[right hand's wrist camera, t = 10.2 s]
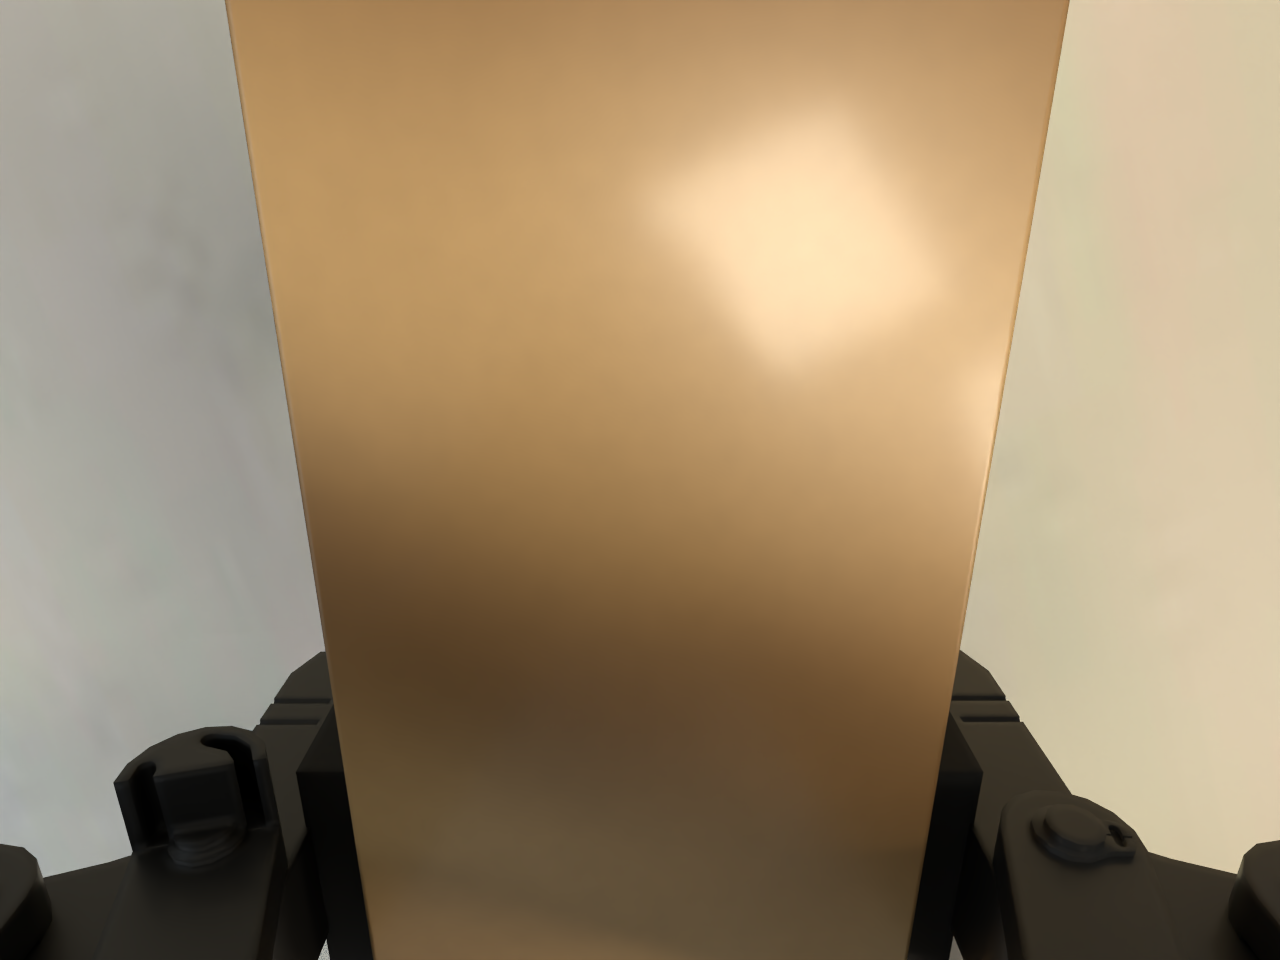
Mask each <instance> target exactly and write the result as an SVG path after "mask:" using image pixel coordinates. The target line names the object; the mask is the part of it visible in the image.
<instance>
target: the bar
mask: <svg viewBox="0 0 1280 960" xmlns="http://www.w3.org/2000/svg"><path fill="white" fill-rule="evenodd" d="M1069 1H1070V0H225V4H226V11H227V17H228V24H229V30H230V37H231V43H232V49H233V56H234V62H235V69H236V75H237V82H238V88H239V95H240V101H241V108H242V114H243V121H244V127H245V134H246V140H247V146H248V153H249V159H250V166H251V172H252V179H253V185H254V192H255V198H256V205H257V211H258V218H259V224H260V230H261V237H262V243H263V250H264V256H265V263H266V269H267V276H268V282H269V289H270V295H271V302H272V308H273V314H274V321H275V327H276V334H277V340H278V347H279V353H280V360H281V366H282V373H283V379H284V386H285V392H286V399H287V405H288V411H289V418H290V424H291V431H292V437H293V444H294V450H295V457H296V463H297V470H298V476H299V483H300V489H301V495H302V502H303V508H304V515H305V521H306V528H307V534H308V541H309V547H310V554H311V560H312V567H313V573H314V580H315V586H316V592H317V599H318V605H319V612H320V618H321V625H322V631H323V638H324V644H325V651H326V657H327V664H328V670H329V676H330V683H331V689H332V696H333V702H334V709H335V715H336V722H337V728H338V735H339V741H340V748H341V754H342V760H343V767H344V773H345V780H346V786H347V793H348V799H349V806H350V812H351V819H352V825H353V832H354V838H355V845H356V851H357V857H358V864H359V870H360V877H361V883H362V890H363V896H364V903H365V909H366V916H367V922H368V929H369V935H370V941H371V948H372V954H373V960H907V956H908V951H909V945H910V939H911V933H912V927H913V921H914V915H915V909H916V903H917V897H918V892H919V886H920V880H921V874H922V868H923V862H924V856H925V850H926V844H927V838H928V833H929V827H930V821H931V815H932V809H933V803H934V797H935V791H936V785H937V779H938V774H939V768H940V762H941V756H942V750H943V744H944V738H945V732H946V726H947V720H948V715H949V709H950V703H951V697H952V691H953V685H954V679H955V673H956V667H957V661H958V656H959V650H960V644H961V638H962V632H963V626H964V620H965V614H966V608H967V602H968V597H969V591H970V585H971V579H972V573H973V567H974V561H975V555H976V549H977V543H978V538H979V532H980V526H981V520H982V514H983V508H984V502H985V496H986V490H987V484H988V479H989V473H990V467H991V461H992V455H993V449H994V443H995V437H996V431H997V425H998V420H999V414H1000V408H1001V402H1002V396H1003V390H1004V384H1005V378H1006V372H1007V366H1008V361H1009V355H1010V349H1011V343H1012V337H1013V331H1014V325H1015V319H1016V313H1017V307H1018V302H1019V296H1020V290H1021V284H1022V278H1023V272H1024V266H1025V260H1026V254H1027V248H1028V243H1029V237H1030V231H1031V225H1032V219H1033V213H1034V207H1035V201H1036V195H1037V189H1038V184H1039V178H1040V172H1041V166H1042V160H1043V154H1044V148H1045V142H1046V136H1047V130H1048V125H1049V119H1050V113H1051V107H1052V101H1053V95H1054V89H1055V83H1056V77H1057V71H1058V66H1059V60H1060V54H1061V48H1062V42H1063V36H1064V30H1065V24H1066V18H1067V12H1068V7H1069Z"/></svg>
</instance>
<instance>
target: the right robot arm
mask: <svg viewBox="0 0 1280 960" xmlns="http://www.w3.org/2000/svg"><path fill="white" fill-rule="evenodd" d="M113 783H114V787H115V790H116V794H117V797H118V801H119V805H120V808H121V812H122V815H123V819H124V822H125V826H126V829H127V833H128V836H129V840H130V843H131V847H132V850H133V852H132V855H131V856H128V857H124V858H121V859H118V860H115V861H111V862H108V863H104V864H100V865H95V866H91V867H87V868H83V869H78V870H74V871H70V872H66V873H62V874H57V875H53V876H49V877H45V878H43V876H42V874H41V871H40V868H39V865H38V862H37V859H36V858H35V857H34V856H33V855H32V854H31V853H29V852H28V851H27V850H26V849H25V848H24V847H17V846H11V845H4V844H0V960H318V958H319V955H320V953H321V950H322V948H323V945H324V943H325V940H326V939H327V945H328V950H329V956H330V960H373V954H372V948H371V941H370V935H369V929H368V922H367V916H366V909H365V903H364V896H363V890H362V883H361V877H360V870H359V864H358V857H357V851H356V845H355V838H354V832H353V825H352V819H351V812H350V806H349V799H348V793H347V786H346V780H345V773H344V767H343V760H342V754H341V748H340V741H339V735H338V728H337V722H336V715H335V709H334V702H333V696H332V689H331V683H330V676H329V670H328V664H327V657H326V652H320V653H318V654H317V655H316V656H314V657H313V658H311V659H310V660H309V661H307V662H306V663H305V664H303V665H302V666H301V667H299V668H298V669H297V670H295V671H294V672H292V673H291V674H290V676H289V677H288V679H287V680H286V682H285V683H284V685H283V686H282V688H281V689H280V691H279V692H278V694H277V695H276V697H275V698H274V704H270V706H269V707H268V709H267V710H266V712H265V713H264V715H263V716H262V718H261V719H260V725H256V727H255V728H254V730H253V731H249V730H245V729H241V728H237V727H233V726H222V727H204V728H200V729H197V730H193V731H189V732H185V733H181V734H177V735H175V736H173V737H171V738H168V739H166V740H164V741H162V742H160V743H158V744H155V745H153V746H151V747H149V748H148V749H147V750H145V751H144V752H143V753H141V754H140V755H139V756H137V757H136V758H135V759H133V760H132V761H131V762H129V763H128V764H127V765H126V766H125V768H124V769H123V770H122V772H121V773H120V774H119V776H118V777H117V778H116V780H115V781H114V782H113ZM907 960H1280V840H1278V841H1272V842H1265V843H1259V844H1256V845H1255V846H1254V847H1253V848H1251V849H1250V850H1249V851H1248V852H1247V853H1246V854H1244V856H1243V859H1242V862H1241V865H1240V868H1239V871H1238V874H1233V873H1229V872H1225V871H1221V870H1216V869H1212V868H1208V867H1203V866H1199V865H1195V864H1191V863H1186V862H1182V861H1178V860H1174V859H1170V858H1167V857H1163V856H1160V855H1157V854H1154V853H1150V852H1148V851H1147V849H1146V848H1145V846H1144V845H1143V843H1142V841H1141V840H1140V838H1139V837H1138V835H1137V834H1136V832H1135V831H1134V830H1133V829H1132V828H1131V827H1130V826H1129V825H1127V824H1126V823H1125V822H1124V821H1123V820H1121V819H1120V818H1119V817H1118V816H1117V815H1116V814H1114V813H1113V812H1111V811H1109V810H1107V809H1105V808H1104V807H1102V806H1100V805H1098V804H1096V803H1094V802H1092V801H1090V800H1088V799H1086V798H1082V797H1079V796H1075V795H1072V794H1071V793H1070V791H1069V790H1068V788H1067V787H1066V785H1065V784H1064V782H1063V781H1062V779H1061V778H1060V776H1059V775H1058V773H1057V772H1056V770H1055V769H1054V767H1053V766H1052V764H1051V763H1050V761H1049V760H1048V758H1047V757H1046V755H1045V754H1044V752H1043V751H1042V749H1041V748H1040V746H1039V745H1038V743H1037V742H1036V741H1035V739H1034V738H1033V736H1032V735H1031V733H1030V732H1029V730H1028V729H1027V727H1026V726H1025V724H1024V723H1023V722H1020V720H1019V715H1018V714H1017V712H1016V711H1015V709H1014V708H1013V706H1012V705H1011V703H1010V702H1009V701H1006V699H1005V694H1004V693H1003V692H1002V690H1001V689H1000V687H999V686H998V684H997V683H996V681H995V680H994V678H993V677H992V675H991V674H990V672H989V671H988V670H987V669H985V668H984V667H983V666H981V665H980V664H979V663H977V662H976V661H974V660H973V659H972V658H970V657H969V656H968V655H966V654H965V653H963V652H962V651H961V650H959V656H958V661H957V667H956V673H955V679H954V685H953V691H952V697H951V703H950V709H949V715H948V720H947V726H946V732H945V738H944V744H943V750H942V756H941V762H940V768H939V774H938V779H937V785H936V791H935V797H934V803H933V809H932V815H931V821H930V827H929V833H928V838H927V844H926V850H925V856H924V862H923V868H922V874H921V880H920V886H919V892H918V897H917V903H916V909H915V915H914V921H913V927H912V933H911V939H910V945H909V951H908V956H907Z"/></svg>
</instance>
